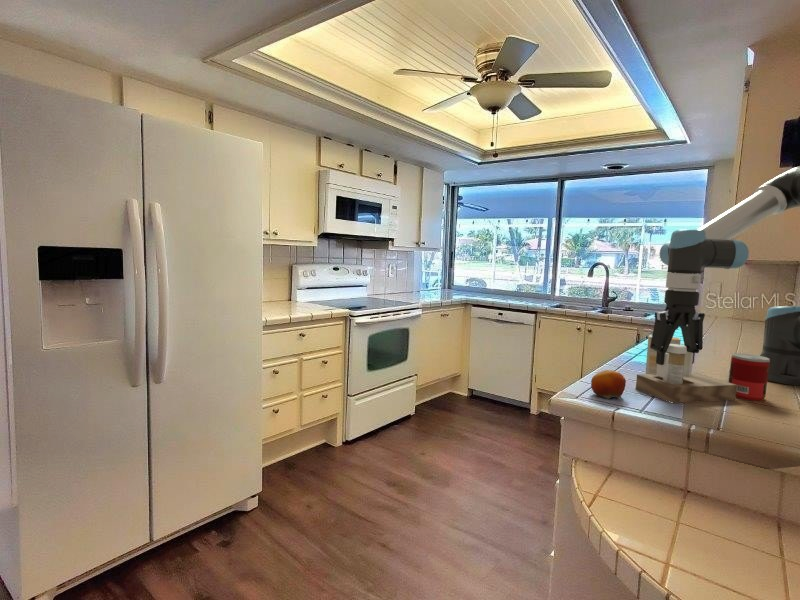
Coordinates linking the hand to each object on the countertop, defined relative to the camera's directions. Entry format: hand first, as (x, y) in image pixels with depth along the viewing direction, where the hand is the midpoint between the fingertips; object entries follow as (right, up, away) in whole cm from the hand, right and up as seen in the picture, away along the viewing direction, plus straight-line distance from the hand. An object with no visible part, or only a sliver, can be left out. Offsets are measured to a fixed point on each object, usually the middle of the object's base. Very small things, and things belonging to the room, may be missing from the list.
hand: (673, 376), depth 117 cm
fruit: (-19, -5, -3) cm, 20 cm away
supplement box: (+6, -4, +15) cm, 17 cm away
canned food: (+20, -6, +1) cm, 21 cm away
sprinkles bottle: (0, -5, 0) cm, 5 cm away
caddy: (+4, -5, +1) cm, 6 cm away
